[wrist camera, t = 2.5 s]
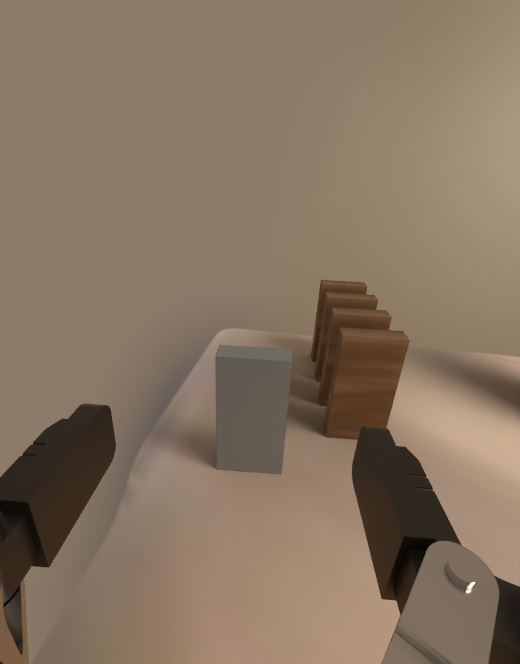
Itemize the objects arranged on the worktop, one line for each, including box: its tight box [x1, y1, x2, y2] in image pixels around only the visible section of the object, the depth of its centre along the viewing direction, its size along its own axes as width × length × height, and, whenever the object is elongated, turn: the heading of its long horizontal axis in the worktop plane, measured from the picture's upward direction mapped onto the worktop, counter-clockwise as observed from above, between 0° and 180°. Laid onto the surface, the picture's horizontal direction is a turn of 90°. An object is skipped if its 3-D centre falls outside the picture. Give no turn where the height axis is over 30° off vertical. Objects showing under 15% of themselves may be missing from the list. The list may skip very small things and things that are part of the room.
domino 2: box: [311, 280, 367, 361], centre depth 41 cm, size 2×5×10 cm, turn 87°
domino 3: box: [315, 292, 378, 381], centre depth 37 cm, size 2×5×10 cm, turn 87°
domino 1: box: [216, 345, 293, 474], centre depth 25 cm, size 2×5×10 cm, turn 87°
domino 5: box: [324, 327, 409, 439], centre depth 28 cm, size 2×5×10 cm, turn 87°
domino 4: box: [319, 307, 392, 406], centre depth 32 cm, size 2×5×10 cm, turn 87°
